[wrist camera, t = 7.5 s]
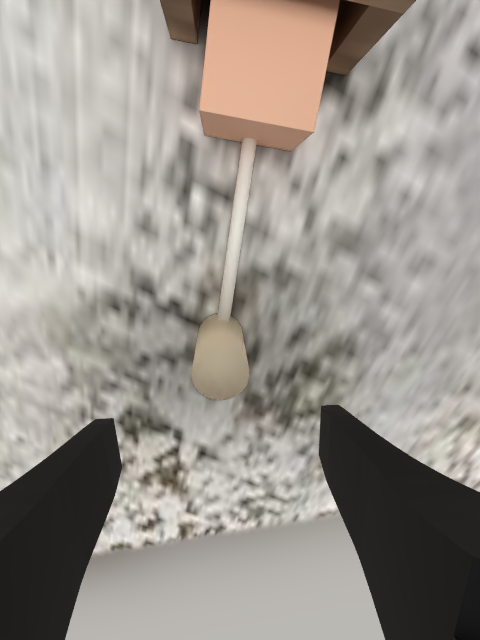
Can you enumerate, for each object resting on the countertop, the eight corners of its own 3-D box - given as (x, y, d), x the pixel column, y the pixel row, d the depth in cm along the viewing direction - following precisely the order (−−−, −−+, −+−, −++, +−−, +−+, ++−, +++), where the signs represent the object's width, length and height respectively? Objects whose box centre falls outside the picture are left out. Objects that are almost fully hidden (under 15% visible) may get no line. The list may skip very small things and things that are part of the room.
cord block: (309, 48, 16) (349, -23, 11) (253, 358, 21) (263, 404, 16) (216, 28, 15) (214, -55, 11) (180, 350, 20) (168, 394, 15)
